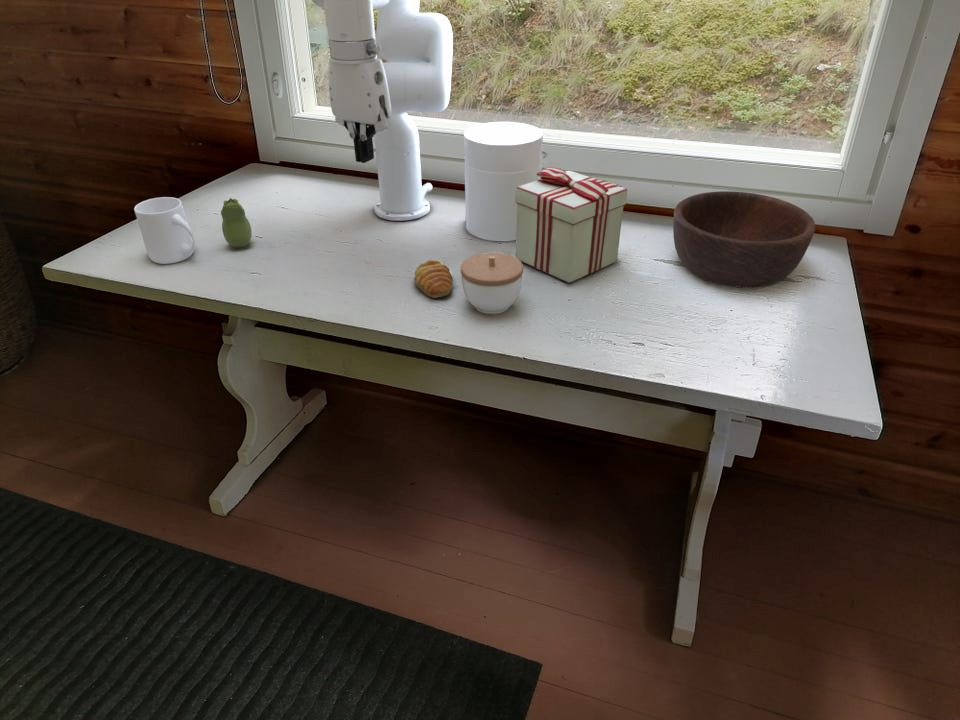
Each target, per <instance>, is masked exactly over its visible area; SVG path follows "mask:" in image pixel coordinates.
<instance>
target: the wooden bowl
mask: <svg viewBox="0 0 960 720" xmlns="http://www.w3.org/2000/svg"><path fill="white" fill-rule="evenodd" d="M672 219H673V220H672V221H673V225H672V226H673V230H672V231H673V243H674V248H675V252H676V254H677V255H676V256H677V257H678V259H679V261H680V263H681V264H682V266H684V268H685V269H686V270H687V271H688V272H690V273H691V274H692V275H694V276H696V277H698V278H700V279H702V280H704V281H708V282H711V283H714V284H718V285H721V286H727V287H733V288H744V289H745V288H746V289H747V288H750V289H751V288H761V287H767V286H771V285H774V284H777V283H779V282H781V281H783V280H784V279H785V278H787V277H788V276H789V275H790V274H792V273H793V271H794V270H795V269H796V268H797V267H798V265H799V264H800V262H801V261H802V260H803V258H804V256H805V255H806V252H807V251H808V248H809V246H810V244H811V242H812V239H813V238H814V234H815V231H816V222H815V220H814V218H813V217H812V216H811V215H810V214H809V213H808V212H807V211H806V210H804V209H802V208H801V207H799V206H797V205H795V204H794V203H791V202H789V201H786V200H784V199H780V198H777V197H773V196H769V195H765V194H759V193H753V192H745V191H734V190H733V191H729V190H727V191H724V190H723V191H722V190H721V191H709V192H702V193H698V194H694V195H691V196H688V197H686V198H684V199H683V200H681V201H679V202H678V204H676V206H675V208H674V209H673V218H672Z"/></svg>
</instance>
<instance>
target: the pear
mask: <svg viewBox="0 0 960 720" xmlns="http://www.w3.org/2000/svg"><path fill="white" fill-rule="evenodd" d="M220 215H221V218H222V223H221V230H222V235H223V237H224V240H225V241H226V243H227V244H228V245H229V246H231V247H232V248H238V249H239V248H244V247H246V246H247V245H249V244H250V242H251V240H252V237H253V235H252V233H253V232H252V231H253V230H252V226H251V223H250V221H249V219H248V218H247V216H246V212H245V209H244V207H243V205H241V204H240V203H239V201H238V199H236V198H231V197H229V199H227V200H223V205H222V209H221V210H220Z"/></svg>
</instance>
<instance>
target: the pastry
mask: <svg viewBox="0 0 960 720" xmlns="http://www.w3.org/2000/svg"><path fill="white" fill-rule="evenodd" d="M453 281H454V277H453V275H452V273H451V271H450V268H449V267H448V265H446V264H443V263H442V262H441V261H439V260H436V259H431V260H427V261H425V262H423V263H420V264H419V265H418V267H417V268H416V270H415V272H414V282H415V284H416V287H418V289H420V291H421V292H422V293H423V294H425V295H426V296H428V297H430V298H432V299H436V298H442V297H446V296H449V294H450V293H451V292H452V287H453Z"/></svg>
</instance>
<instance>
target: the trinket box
mask: <svg viewBox="0 0 960 720" xmlns="http://www.w3.org/2000/svg"><path fill="white" fill-rule="evenodd" d="M460 274H461V286H462V289H463V290H462V291H463V293H464V296H465V298H466V299H467V301H468V302H469V303H470V304H471V305H472V306H473V307H474V308H475V309H476V310H477V311H478V312H480V313H483V314H486V315H498V314H502V313H504V312H506V311H507V310H508V309H509V308H510V307H511V306H512V305H514V304H515V302H516V301H517V299H518V298H519V295H520V294H521V290H522V284H523V276H524V275H523V274H524V264H523V262H522V261H520V260H519V259H517V258H516V256H513V255H511V254H507V253H502V252H482V253H478V254H473V255H471V256H469V257H467V258H466V259H465V260H463V262H462V263H461V264H460Z"/></svg>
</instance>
